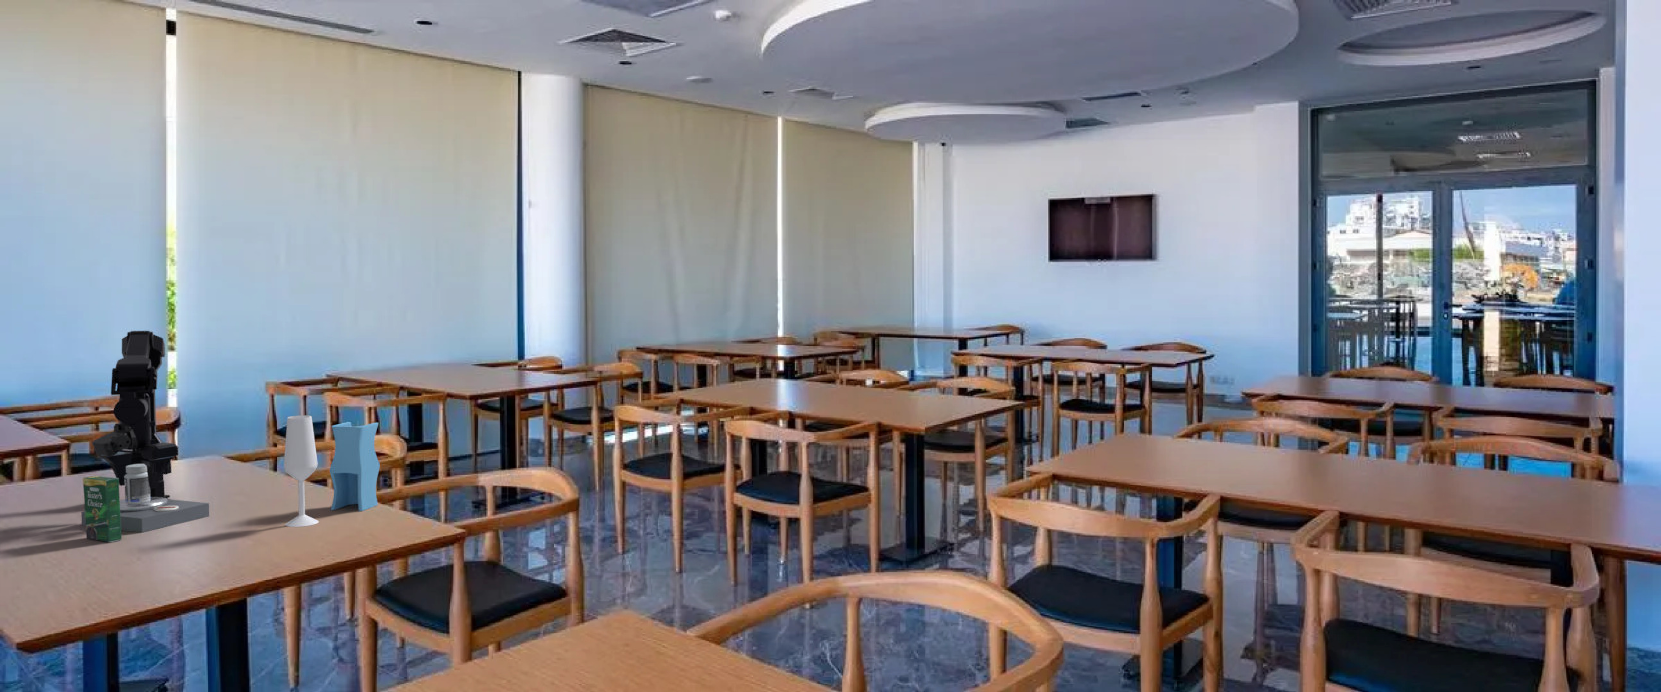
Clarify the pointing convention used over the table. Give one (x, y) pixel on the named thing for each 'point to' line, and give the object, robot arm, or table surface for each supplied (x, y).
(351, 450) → the blue wavy hollow stand
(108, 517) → the coffee box
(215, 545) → the table surface
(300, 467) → the champagne flute
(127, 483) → the pill bottle
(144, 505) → the scale pan
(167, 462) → the robot arm
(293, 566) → the table surface
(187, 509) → the scale
